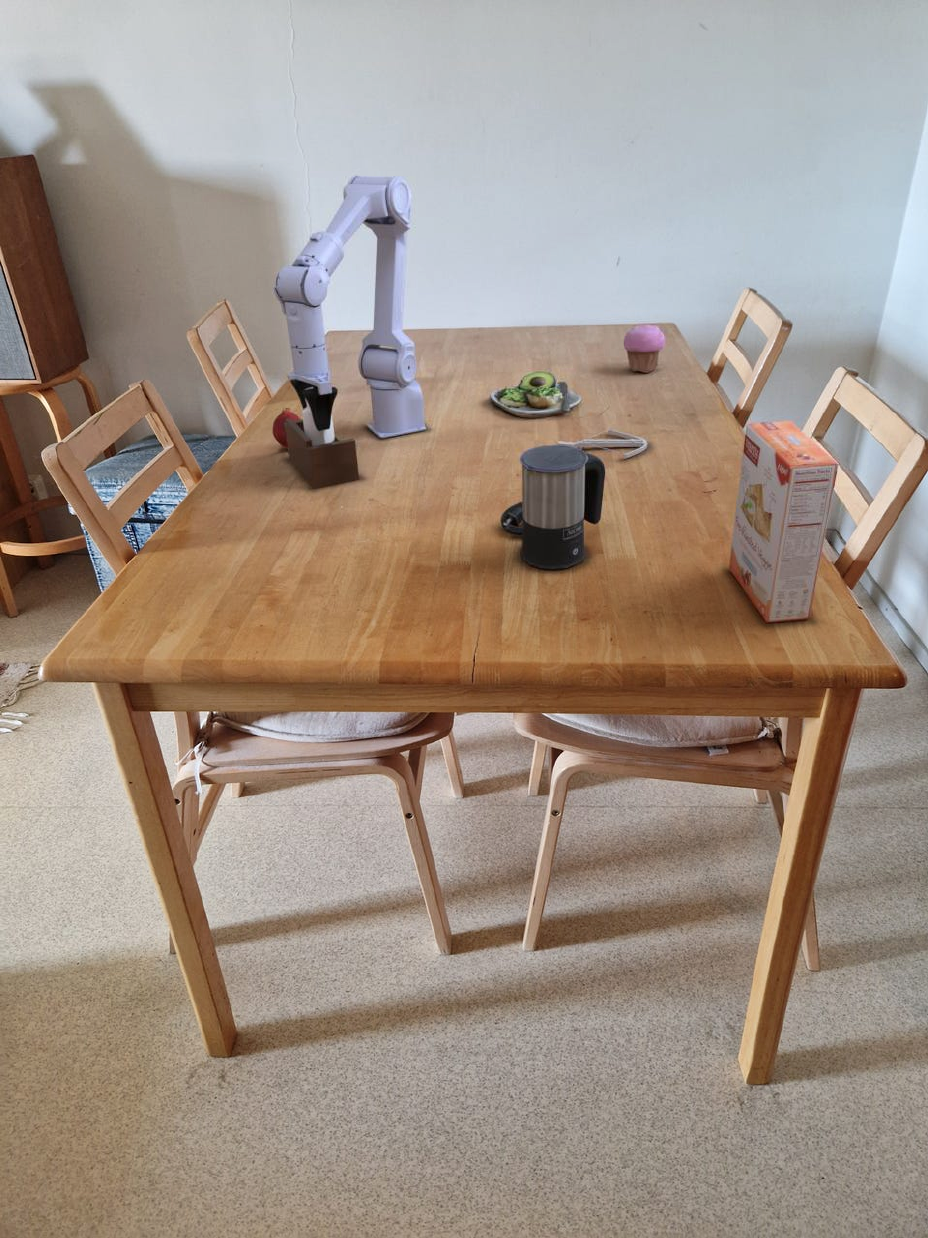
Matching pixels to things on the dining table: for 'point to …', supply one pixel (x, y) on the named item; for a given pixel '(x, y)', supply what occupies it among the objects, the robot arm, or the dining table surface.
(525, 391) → the salad plate
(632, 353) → the cupcake
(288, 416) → the onion
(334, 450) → the box
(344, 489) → the dining table surface
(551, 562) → the milk frother
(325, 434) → the pepper shaker
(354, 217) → the robot arm
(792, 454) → the cracker box
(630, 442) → the crossbow
